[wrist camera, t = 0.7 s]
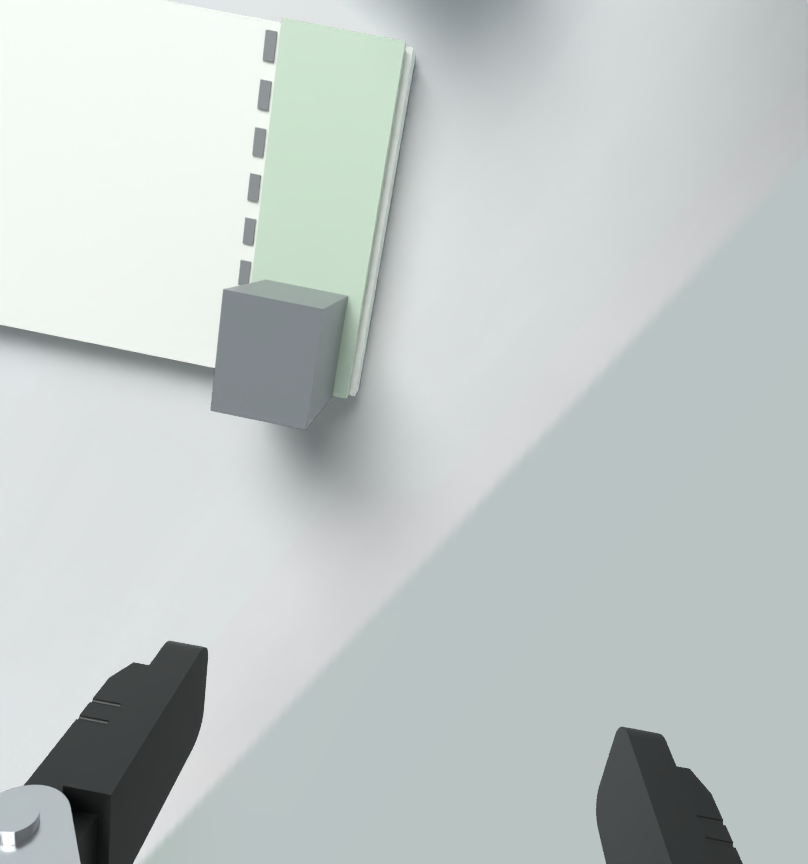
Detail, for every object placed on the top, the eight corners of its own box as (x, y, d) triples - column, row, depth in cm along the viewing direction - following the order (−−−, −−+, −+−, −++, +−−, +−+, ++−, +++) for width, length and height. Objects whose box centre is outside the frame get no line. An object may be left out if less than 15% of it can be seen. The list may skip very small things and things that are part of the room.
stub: (285, 22, 29) (236, -39, 22) (406, 45, 29) (391, -10, 22) (244, 375, 33) (194, 407, 27) (347, 396, 33) (321, 433, 27)
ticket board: (-88, -39, 31) (-116, -54, 29) (415, 56, 30) (413, 47, 29) (-77, 301, 35) (-101, 304, 34) (358, 389, 35) (354, 396, 33)
